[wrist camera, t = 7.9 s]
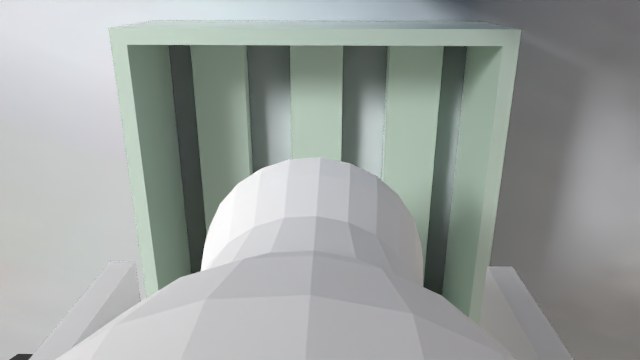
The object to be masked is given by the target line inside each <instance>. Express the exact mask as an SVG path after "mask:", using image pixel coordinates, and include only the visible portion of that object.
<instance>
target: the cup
mask: <svg viewBox="0 0 640 360" xmlns="http://www.w3.org/2000/svg"><path fill="white" fill-rule="evenodd" d="M56 360H516V359H515V358H514V357H513V356H512V355H510V354H509V353H508V352H507V351H506V350H505V349H504V348H503V347H502V346H501V345H500V344H499V343H498V342H496V341H495V340H494V339H493V338H492V337H491V336H490V335H489V334H488V333H487V332H485V331H484V330H483V329H482V328H480V327H479V326H478V325H477V324H476V323H474V322H473V321H472V320H471V319H470V318H468V317H467V316H466V315H465V314H463V313H462V312H461V311H460V310H459V309H457V308H456V307H455V306H454V305H453V304H451V303H450V302H449V301H448V300H446V299H445V298H444V297H443V296H442V295H439V294H437V293H435V292H433V291H430V290H428V289H426V288H424V287H423V257H422V248H421V241H420V238H419V235H418V231H417V228H416V225H415V221H414V218H413V216H412V215H411V213H410V212H409V210H408V209H407V207H406V206H405V204H404V203H403V201H402V199H401V198H400V196H399V195H398V194H397V193H396V192H395V191H393V190H392V189H391V188H390V187H389V186H388V185H387V184H385V183H384V182H383V181H382V180H381V179H380V178H378V177H377V176H375V175H373V174H371V173H369V172H367V171H365V170H363V169H361V168H359V167H357V166H355V165H353V164H351V163H346V162H341V161H336V160H331V159H326V158H321V157H319V158H301V159H289V160H286V161H283V162H279V163H276V164H273V165H270V166H267V167H264V168H261V169H260V170H258V171H257V172H255V173H254V174H252V175H250V176H249V177H247V178H246V179H244V180H243V181H241V182H240V183H238V184H237V185H236V186H235V187H234V189H233V190H232V191H231V192H230V193H229V194H228V195H227V197H226V198H225V199H224V200H223V201H222V202H221V203H220V205H219V207H218V209H217V212H216V214H215V216H214V218H213V220H212V222H211V225H210V227H209V230H208V234H207V237H206V241H205V245H204V251H203V258H202V265H201V271H200V272H197V273H193V274H190V275H187V276H183V277H180V278H178V279H177V280H175V281H173V282H172V283H170V284H169V285H167V286H165V287H164V288H162V289H160V290H159V291H157V292H155V293H154V294H152V295H151V296H149V297H147V298H146V299H144V300H142V301H141V302H139V303H138V304H136V305H134V306H133V307H131V308H129V309H128V310H126V311H125V312H124V313H122V314H121V315H119V316H118V317H116V318H115V319H113V320H112V321H110V322H109V323H108V324H106V325H105V326H103V327H102V328H100V329H99V330H97V331H96V332H95V333H93V334H92V335H90V336H89V337H87V338H86V339H84V340H83V341H82V342H80V343H79V344H77V345H76V346H74V347H73V348H71V349H70V350H69V351H67V352H66V353H64V354H63V355H61V356H60V357H58V358H57V359H56Z"/></svg>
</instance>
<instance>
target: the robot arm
mask: <svg viewBox="0 0 640 360" xmlns="http://www.w3.org/2000/svg"><path fill="white" fill-rule="evenodd" d="M139 302H141V299H140V292H139V285H138V278H137V271H136V264H135V262H134V261H110V262H109V263H108V265H107V266H106V267H105V268H104V270H103V271H102V272H101V273H100V274H99V276H98V277H97V278H96V279H95V280H94V282H93V283H92V284H91V285H90V286H89V288H88V289H87V290H86V291H85V292H84V294H83V295H82V296H81V297H80V298H79V300H78V301H77V302H76V303H75V305H74V306H73V307H72V308H71V309H70V311H69V312H68V313H67V314H66V315H65V317H64V318H63V319H62V320H61V321H60V323H59V324H58V325H57V326H56V327H55V329H54V330H53V331H52V332H51V333H50V335H49V336H48V337H47V338H46V339H45V341H44V342H43V343H42V344H41V346H40V347H39V348H38V349H37V350H36V352H35V353H34V354H17V355H16V356H14V357H13V358H11V359H10V360H56V359H57V358H58V357H60V356H61V355H63V354H64V353H66V352H67V351H69V350H70V349H71V348H73V347H74V346H76V345H77V344H79V343H80V342H82V341H83V340H84V339H86V338H87V337H89V336H90V335H92V334H93V333H95V332H96V331H97V330H99V329H100V328H102V327H103V326H105V325H106V324H108V323H109V322H110V321H112V320H113V319H115V318H116V317H118V316H119V315H121V314H122V313H124V312H125V311H126V310H128V309H129V308H131V307H133V306H134V305H136V304H138V303H139ZM479 327H480V328H482V329H483V330H484V331H485V332H487V333H488V334H489V335H490V336H491V337H492V338H493V339H494V340H495V341H496V342H498V343H499V344H500V345H501V346H502V347H503V348H504V349H505V350H506V351H507V352H508V353H509V354H510V355H512V356H513V357H514V358H515V359H516V360H574V359H573V358H572V356H571V355H570V353H569V352H568V350H567V349H566V347H565V346H564V344H563V342H562V341H561V339H560V338H559V336H558V335H557V333H556V332H555V330H554V329H553V327H552V326H551V324H550V323H549V321H548V320H547V318H546V317H545V315H544V314H543V312H542V311H541V309H540V308H539V306H538V305H537V303H536V301H535V300H534V298H533V297H532V295H531V294H530V292H529V291H528V289H527V288H526V286H525V285H524V283H523V282H522V280H521V279H520V277H519V276H518V274H517V273H516V271H515V270H514V268H513V267H506V266H487V270H486V278H485V285H484V293H483V300H482V308H481V315H480V323H479Z"/></svg>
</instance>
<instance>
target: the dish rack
mask: <svg viewBox="0 0 640 360" xmlns="http://www.w3.org/2000/svg"><path fill="white" fill-rule="evenodd" d="M521 30H522V29H517V28H512V27H507V26H502V25H497V24H492V23H487V22H448V21H148V22H142V23H136V24H129V25H123V26H117V27H111V28H109V34H110V42H111V49H112V56H113V63H114V70H115V77H116V85H117V92H118V99H119V106H120V113H121V121H122V128H123V135H124V142H125V149H126V156H127V164H128V171H129V178H130V185H131V192H132V200H133V207H134V214H135V221H136V228H137V235H138V243H139V250H140V257H141V264H142V271H143V279H144V286H145V293H146V298H147V297H149V296H151V295H152V294H154V293H155V292H157V291H159V290H160V289H162V288H164V287H165V286H167V285H169V284H170V283H172V282H173V281H175V280H177V279H178V278H180V277H183V276H187V275H190V274H191V265H190V255H189V245H188V235H187V225H186V215H185V205H184V195H183V185H182V175H181V165H180V155H179V145H178V135H177V125H176V115H175V105H174V96H173V86H172V76H171V66H170V56H169V46H168V45H190V49H191V61H192V72H193V84H194V96H195V107H196V119H197V131H198V142H199V154H200V165H201V177H202V189H203V200H204V212H205V224H206V235H207V234H208V230H209V227H210V225H211V222H212V220H213V218H214V216H215V214H216V212H217V209H218V207H219V205H220V203H221V202H222V201H223V200H224V199H225V198H226V197H227V195H228V194H229V193H230V192H231V191H232V190H233V189H234V187H235V186H236V185H237V184H238V183H240V182H241V181H243V180H244V179H246V178H247V177H249V176H250V175H252V174H253V166H252V144H251V123H250V102H249V81H248V60H247V45H290V84H291V138H292V159H301V158H319V157H321V158H326V159H331V160H336V161H341V143H342V86H343V46H388V49H387V70H386V91H385V112H384V133H383V154H382V175H381V180H382V181H383V182H384V183H385V184H387V185H388V186H389V187H390V188H391V189H392V190H393V191H395V192H396V193H397V194H398V195H399V196H400V198H401V199H402V201H403V203H404V204H405V206H406V207H407V209H408V210H409V212H410V213H411V215H412V216H413V218H414V221H415V225H416V228H417V231H418V235H419V238H420V241H421V248H422V257H423V285H424V273H425V262H426V250H427V238H428V226H429V215H430V203H431V191H432V180H433V168H434V156H435V145H436V133H437V121H438V110H439V98H440V86H441V74H442V63H443V51H444V46H467V54H466V63H465V73H464V83H463V93H462V103H461V113H460V123H459V133H458V142H457V152H456V162H455V172H454V182H453V192H452V202H451V212H450V221H449V231H448V241H447V251H446V261H445V271H444V281H443V291H442V296H443V297H444V298H445V299H446V300H448V301H449V302H450V303H451V304H453V305H454V306H455V307H456V308H457V309H459V310H460V311H461V312H462V313H463V314H465V315H466V316H467V317H468V318H470V319H471V320H472V321H473V322H474V323H476V324H477V325H478V326H479V323H480V315H481V308H482V300H483V293H484V285H485V278H486V270H487V266H489V265H490V257H491V250H492V243H493V235H494V228H495V221H496V213H497V206H498V199H499V191H500V184H501V177H502V169H503V162H504V155H505V147H506V140H507V133H508V125H509V118H510V111H511V103H512V96H513V89H514V81H515V74H516V67H517V59H518V52H519V45H520V37H521Z"/></svg>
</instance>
